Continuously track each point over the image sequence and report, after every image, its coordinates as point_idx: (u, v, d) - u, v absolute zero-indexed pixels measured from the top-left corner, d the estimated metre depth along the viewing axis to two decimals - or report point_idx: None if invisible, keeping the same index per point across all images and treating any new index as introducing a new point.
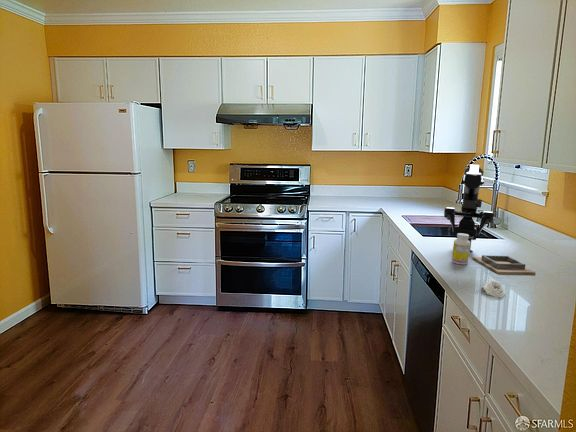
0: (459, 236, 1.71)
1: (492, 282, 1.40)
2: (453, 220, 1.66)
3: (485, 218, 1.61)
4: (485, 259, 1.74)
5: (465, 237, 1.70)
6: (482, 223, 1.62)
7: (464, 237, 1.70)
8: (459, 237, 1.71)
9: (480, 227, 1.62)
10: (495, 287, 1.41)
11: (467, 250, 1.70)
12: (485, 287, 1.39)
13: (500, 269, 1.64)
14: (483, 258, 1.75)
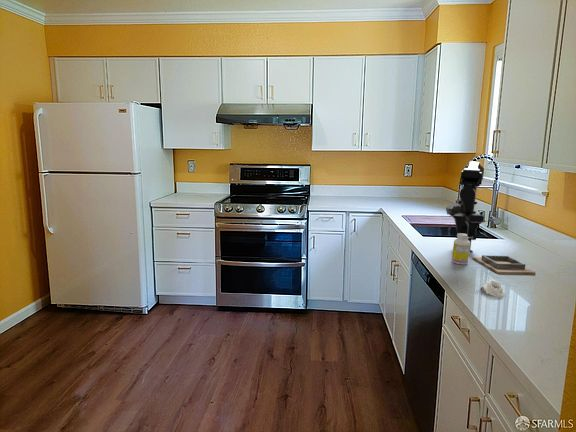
0: (459, 236, 1.71)
1: (492, 282, 1.41)
2: (455, 221, 1.76)
3: (466, 222, 1.64)
4: (485, 259, 1.74)
5: (465, 237, 1.70)
6: (468, 226, 1.65)
7: (464, 237, 1.70)
8: (459, 237, 1.71)
9: (467, 229, 1.66)
10: (495, 287, 1.41)
11: (467, 250, 1.70)
12: (485, 287, 1.39)
13: (500, 269, 1.64)
14: (483, 258, 1.75)
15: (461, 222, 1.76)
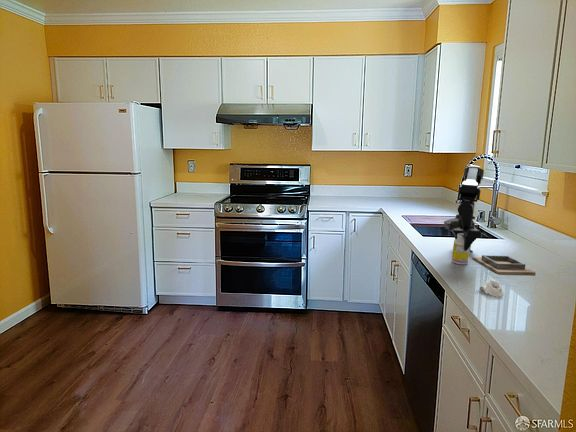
0: (459, 236, 1.71)
1: (491, 281, 1.41)
2: (455, 235, 1.76)
3: (463, 236, 1.66)
4: (485, 259, 1.74)
5: None
6: (464, 240, 1.68)
7: None
8: (459, 237, 1.71)
9: (464, 244, 1.68)
10: (494, 286, 1.42)
11: (467, 250, 1.70)
12: (484, 286, 1.40)
13: (500, 269, 1.64)
14: (483, 258, 1.75)
15: None
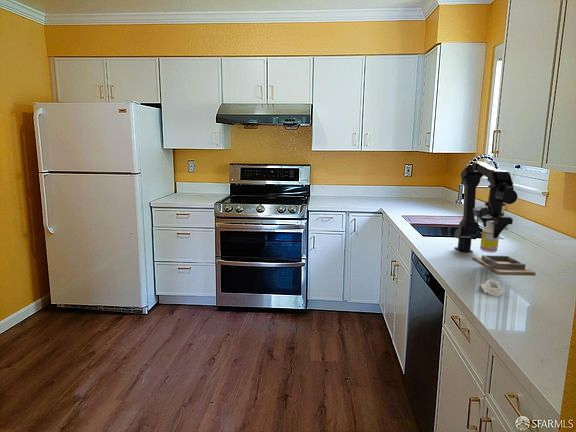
0: (488, 223, 1.68)
1: (490, 281, 1.41)
2: (483, 223, 1.73)
3: (493, 223, 1.63)
4: (485, 259, 1.74)
5: None
6: (494, 227, 1.65)
7: None
8: (488, 224, 1.68)
9: (494, 231, 1.65)
10: (493, 286, 1.42)
11: (497, 238, 1.67)
12: (483, 286, 1.40)
13: (500, 269, 1.64)
14: (483, 258, 1.75)
15: None
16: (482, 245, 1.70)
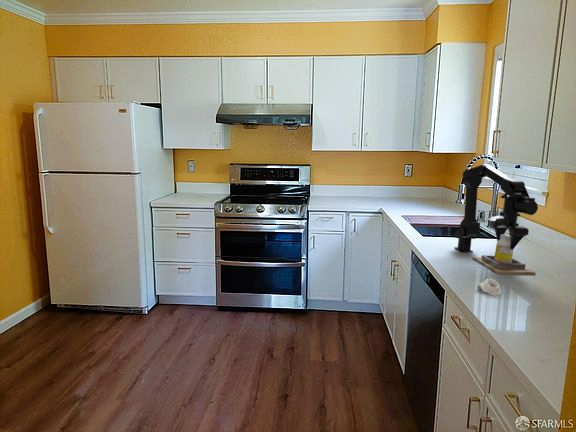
0: (503, 237, 1.68)
1: (488, 280, 1.42)
2: (496, 232, 1.74)
3: (510, 234, 1.62)
4: (485, 259, 1.74)
5: (509, 238, 1.67)
6: (511, 238, 1.63)
7: (508, 238, 1.67)
8: (503, 238, 1.68)
9: (511, 242, 1.64)
10: (491, 285, 1.43)
11: (511, 251, 1.67)
12: (481, 285, 1.41)
13: (500, 269, 1.64)
14: (483, 258, 1.75)
15: None
16: (496, 258, 1.70)
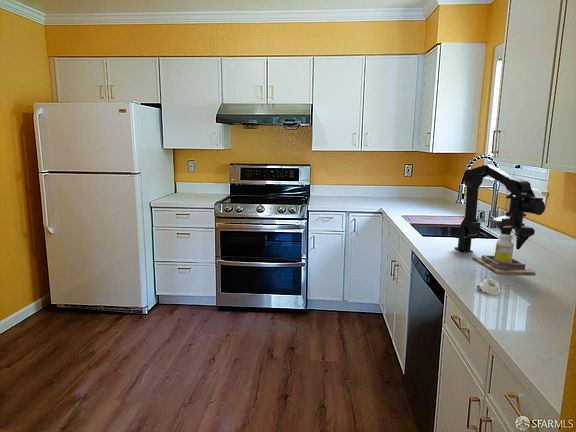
0: (502, 237, 1.68)
1: (487, 280, 1.42)
2: (502, 232, 1.74)
3: (516, 235, 1.62)
4: (485, 259, 1.74)
5: (509, 238, 1.67)
6: (517, 238, 1.63)
7: (507, 238, 1.67)
8: (502, 238, 1.68)
9: (516, 242, 1.64)
10: (490, 285, 1.43)
11: (511, 251, 1.67)
12: (481, 285, 1.41)
13: (500, 269, 1.64)
14: (483, 258, 1.75)
15: (508, 234, 1.74)
16: (496, 258, 1.70)
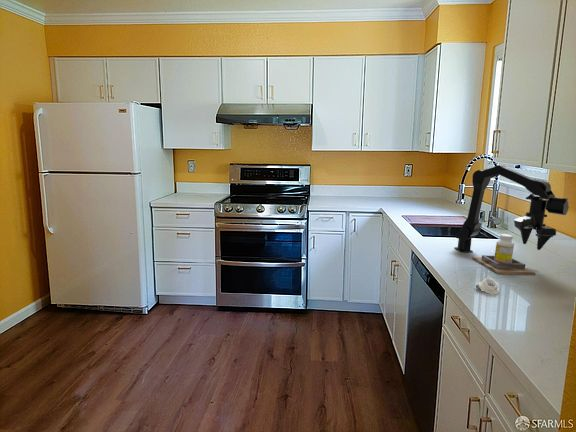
0: (503, 237, 1.68)
1: (487, 279, 1.43)
2: (522, 233, 1.75)
3: (537, 235, 1.63)
4: (485, 259, 1.74)
5: (509, 238, 1.67)
6: (538, 239, 1.64)
7: (508, 238, 1.67)
8: (502, 238, 1.68)
9: (538, 243, 1.65)
10: (490, 284, 1.44)
11: (511, 251, 1.67)
12: (480, 284, 1.42)
13: (500, 269, 1.64)
14: (483, 258, 1.75)
15: (528, 234, 1.75)
16: (496, 258, 1.70)
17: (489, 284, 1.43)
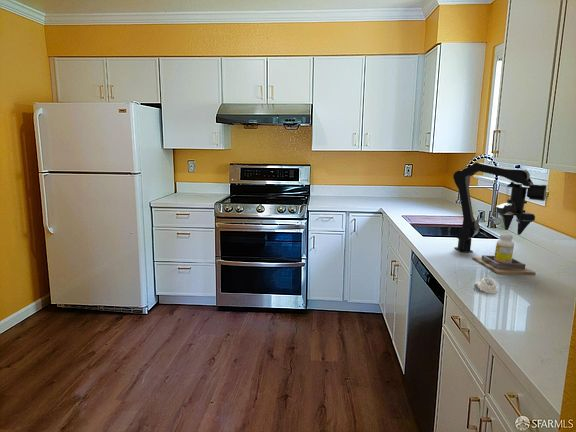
0: (503, 237, 1.68)
1: (485, 279, 1.43)
2: (504, 219, 1.84)
3: (517, 220, 1.72)
4: (485, 259, 1.74)
5: (509, 238, 1.67)
6: (519, 224, 1.73)
7: (508, 238, 1.67)
8: (503, 238, 1.68)
9: (518, 228, 1.74)
10: (488, 284, 1.44)
11: (511, 251, 1.67)
12: (478, 284, 1.42)
13: (500, 269, 1.64)
14: (483, 258, 1.75)
15: (509, 221, 1.84)
16: (496, 258, 1.70)
17: (487, 283, 1.44)
